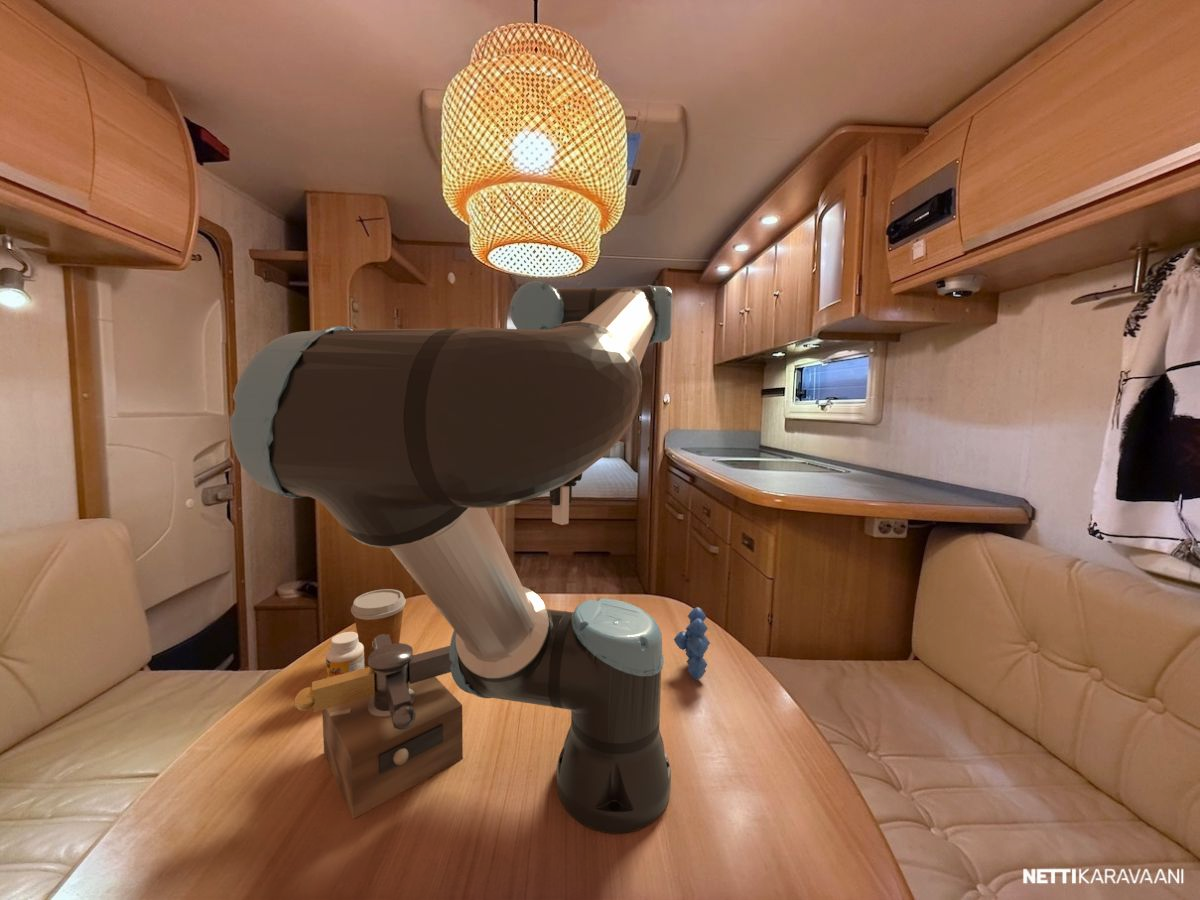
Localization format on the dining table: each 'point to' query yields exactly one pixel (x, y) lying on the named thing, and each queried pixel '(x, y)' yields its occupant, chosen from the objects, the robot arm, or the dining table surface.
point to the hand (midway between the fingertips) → (560, 522)
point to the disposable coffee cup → (378, 617)
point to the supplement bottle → (344, 654)
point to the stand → (391, 745)
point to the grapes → (694, 643)
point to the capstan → (379, 681)
